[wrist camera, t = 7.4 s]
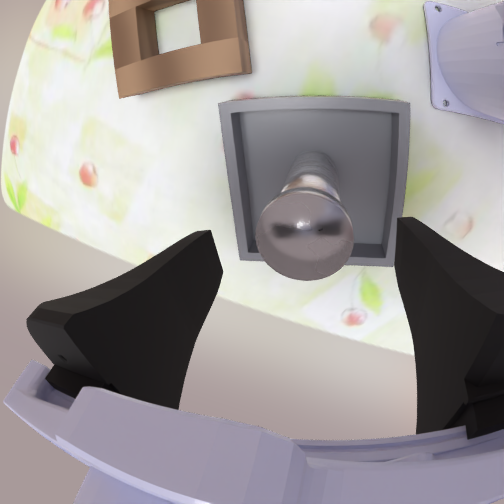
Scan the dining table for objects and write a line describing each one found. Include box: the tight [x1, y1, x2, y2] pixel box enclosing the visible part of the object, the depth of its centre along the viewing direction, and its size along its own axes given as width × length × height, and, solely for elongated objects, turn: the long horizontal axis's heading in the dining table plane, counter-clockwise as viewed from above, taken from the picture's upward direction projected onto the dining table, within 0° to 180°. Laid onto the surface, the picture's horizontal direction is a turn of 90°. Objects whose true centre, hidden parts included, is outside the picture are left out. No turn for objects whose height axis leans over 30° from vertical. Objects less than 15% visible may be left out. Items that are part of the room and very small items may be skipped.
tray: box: [218, 96, 410, 267], centre depth 18 cm, size 11×11×2 cm
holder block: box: [109, 0, 252, 99], centre depth 14 cm, size 9×9×2 cm
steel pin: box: [255, 151, 354, 281], centre depth 15 cm, size 4×4×9 cm
